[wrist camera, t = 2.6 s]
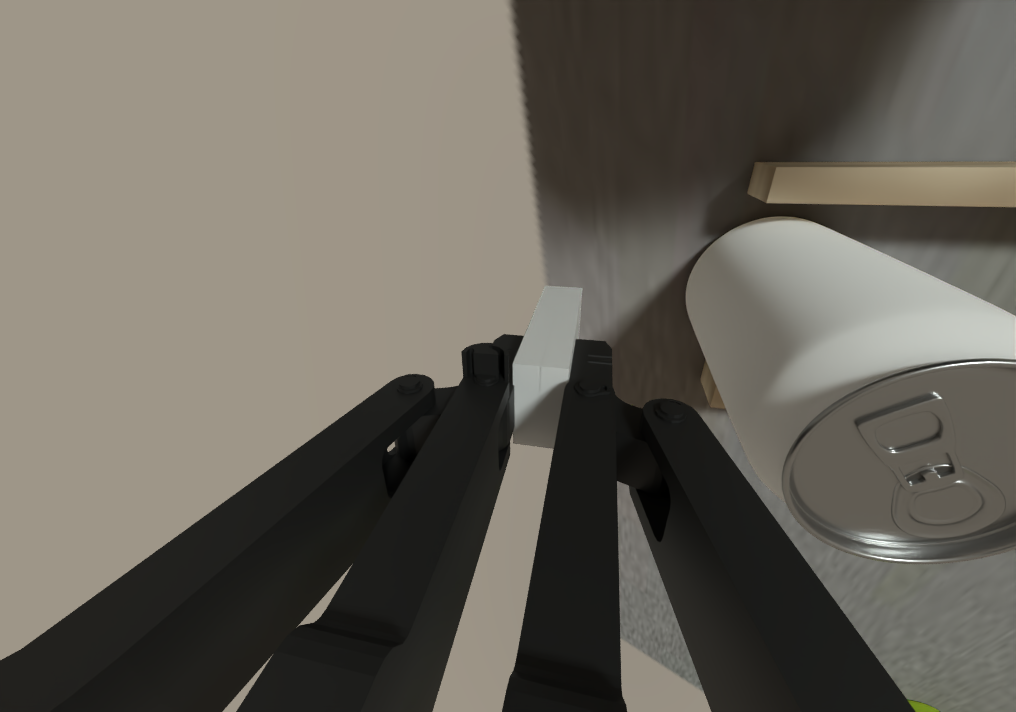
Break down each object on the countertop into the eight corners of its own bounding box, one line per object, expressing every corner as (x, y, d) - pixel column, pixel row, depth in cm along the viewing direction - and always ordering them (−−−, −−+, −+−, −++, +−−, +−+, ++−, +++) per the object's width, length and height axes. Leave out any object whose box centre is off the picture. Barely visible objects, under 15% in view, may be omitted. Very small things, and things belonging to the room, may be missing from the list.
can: (722, 370, 21) (827, 599, 11) (657, 270, 19) (710, 429, 9) (867, 304, 18) (1198, 533, 8) (806, 180, 16) (1127, 266, 6)
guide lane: (755, 161, 17) (792, 170, 13) (1330, 161, 13) (1580, 173, 10) (700, 379, 22) (717, 426, 18) (1106, 418, 18) (1220, 485, 15)
